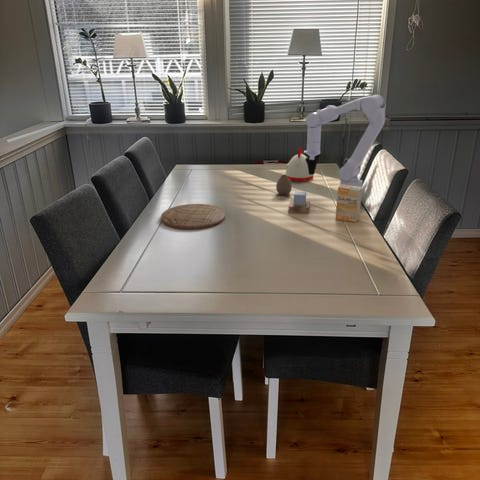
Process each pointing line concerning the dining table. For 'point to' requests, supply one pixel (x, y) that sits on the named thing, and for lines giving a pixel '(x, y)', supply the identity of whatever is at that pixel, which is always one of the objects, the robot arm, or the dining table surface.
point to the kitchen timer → (298, 168)
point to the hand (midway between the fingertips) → (312, 172)
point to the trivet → (193, 216)
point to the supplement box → (348, 203)
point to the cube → (299, 198)
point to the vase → (284, 185)
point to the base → (299, 208)
